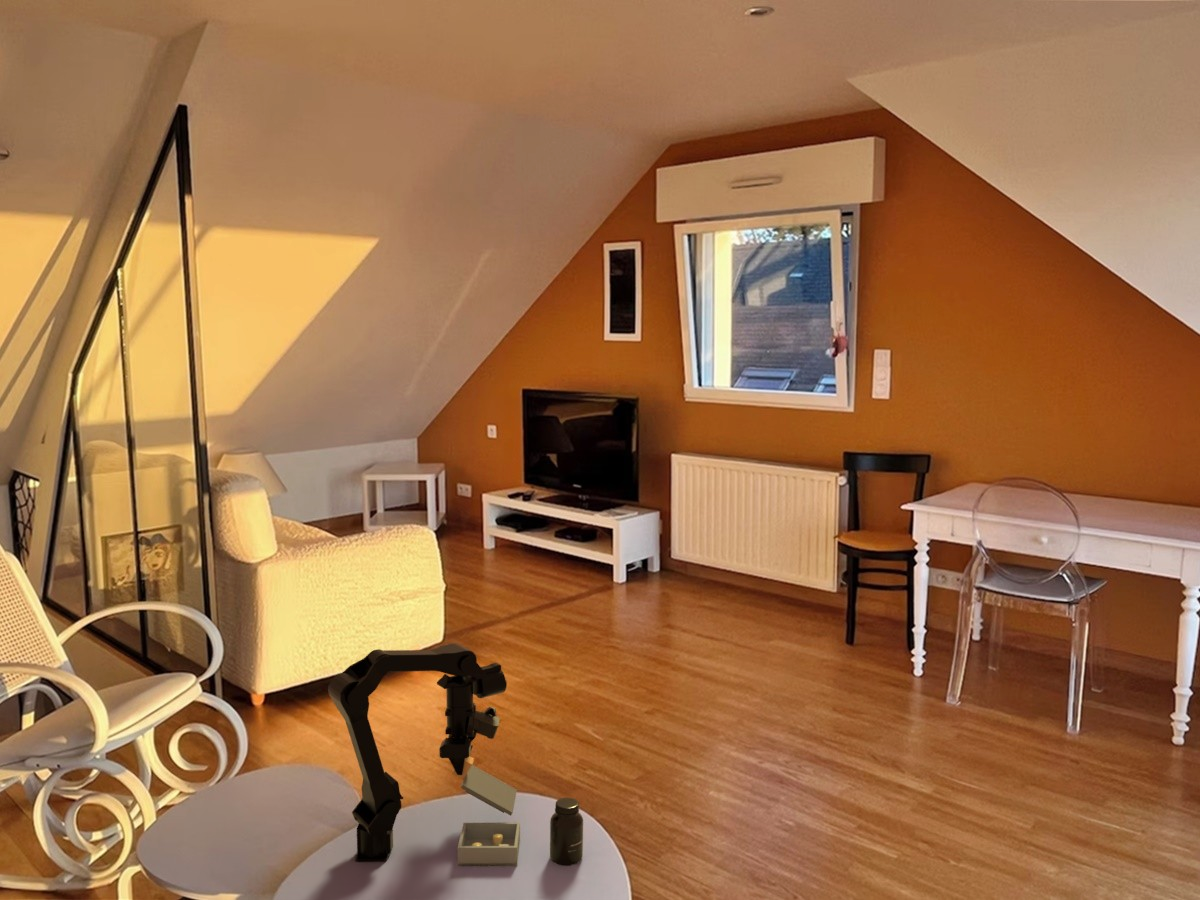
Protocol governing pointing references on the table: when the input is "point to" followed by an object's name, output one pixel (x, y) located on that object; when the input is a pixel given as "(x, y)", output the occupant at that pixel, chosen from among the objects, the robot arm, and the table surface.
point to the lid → (487, 787)
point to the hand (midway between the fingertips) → (460, 771)
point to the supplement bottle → (566, 833)
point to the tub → (489, 844)
